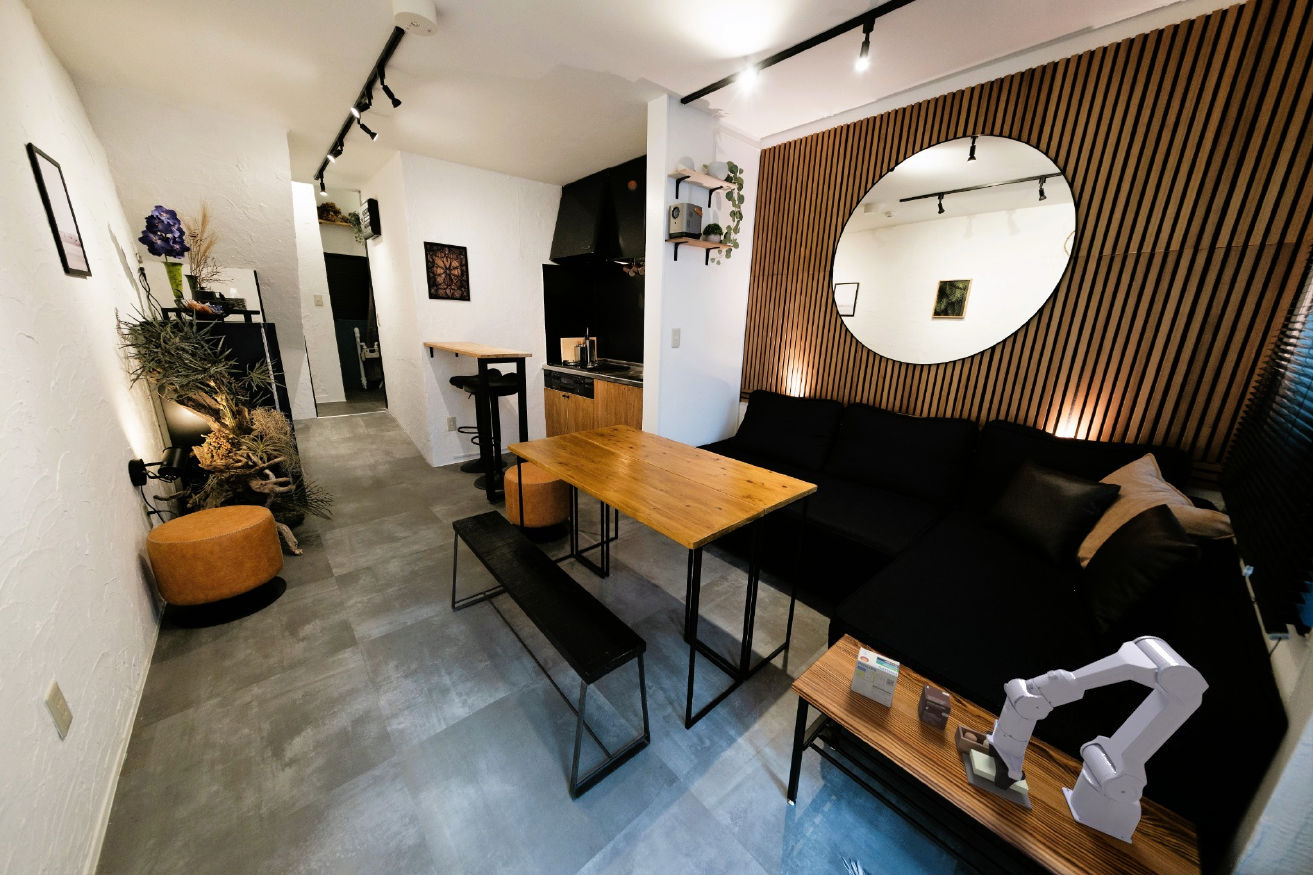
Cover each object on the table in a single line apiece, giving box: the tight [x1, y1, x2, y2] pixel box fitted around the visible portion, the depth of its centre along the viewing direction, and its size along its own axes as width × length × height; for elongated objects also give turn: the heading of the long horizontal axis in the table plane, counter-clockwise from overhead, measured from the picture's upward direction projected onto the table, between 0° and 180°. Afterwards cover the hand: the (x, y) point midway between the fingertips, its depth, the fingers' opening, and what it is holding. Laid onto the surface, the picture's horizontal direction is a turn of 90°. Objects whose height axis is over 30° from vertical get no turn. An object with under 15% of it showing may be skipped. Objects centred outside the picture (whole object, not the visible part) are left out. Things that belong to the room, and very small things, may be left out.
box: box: [917, 683, 952, 731], centre depth 119 cm, size 6×6×7 cm
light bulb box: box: [850, 647, 900, 708], centre depth 125 cm, size 11×7×11 cm, turn 58°
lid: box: [969, 749, 1029, 795], centre depth 103 cm, size 10×6×2 cm, turn 64°
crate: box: [954, 724, 989, 756], centre depth 110 cm, size 9×4×4 cm, turn 64°
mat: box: [961, 753, 1033, 811], centre depth 104 cm, size 12×8×1 cm, turn 64°
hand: (996, 775), depth 103 cm, fingers open, 6 cm apart
